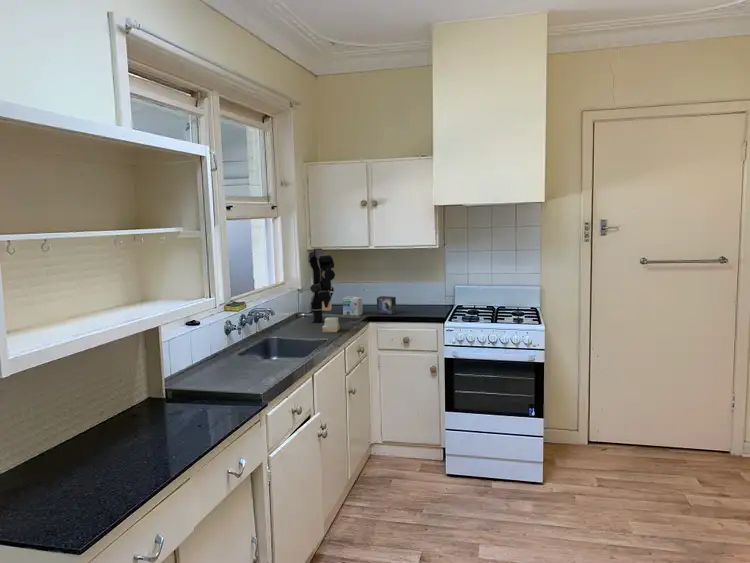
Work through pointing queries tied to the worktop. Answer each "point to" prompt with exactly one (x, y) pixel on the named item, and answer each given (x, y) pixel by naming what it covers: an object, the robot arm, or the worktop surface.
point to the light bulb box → (352, 306)
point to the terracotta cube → (327, 307)
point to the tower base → (330, 328)
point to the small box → (386, 305)
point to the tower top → (331, 321)
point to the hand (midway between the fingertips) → (326, 306)
